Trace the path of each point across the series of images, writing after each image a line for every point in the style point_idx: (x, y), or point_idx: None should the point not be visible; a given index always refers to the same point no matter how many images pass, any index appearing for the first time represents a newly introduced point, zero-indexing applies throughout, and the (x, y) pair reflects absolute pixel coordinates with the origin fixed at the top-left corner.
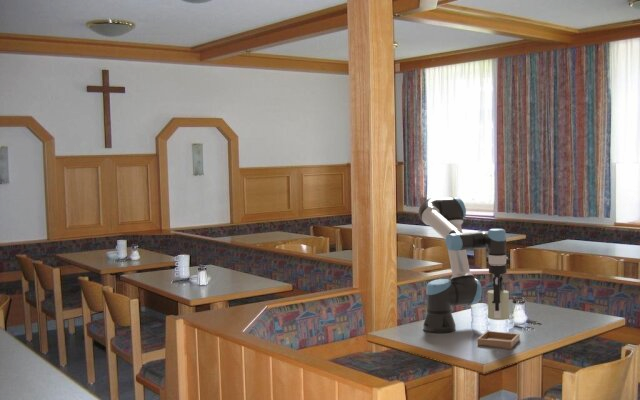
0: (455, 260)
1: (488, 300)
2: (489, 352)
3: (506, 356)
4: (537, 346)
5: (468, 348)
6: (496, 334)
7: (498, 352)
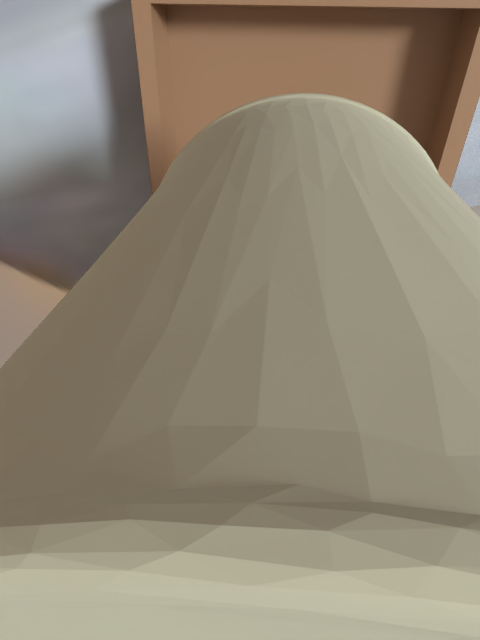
0: None
1: (101, 263)
2: (29, 150)
3: (21, 267)
4: None
5: None
6: (446, 112)
7: (66, 208)
